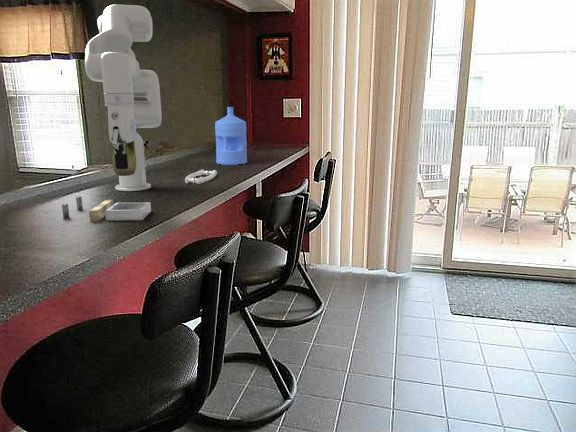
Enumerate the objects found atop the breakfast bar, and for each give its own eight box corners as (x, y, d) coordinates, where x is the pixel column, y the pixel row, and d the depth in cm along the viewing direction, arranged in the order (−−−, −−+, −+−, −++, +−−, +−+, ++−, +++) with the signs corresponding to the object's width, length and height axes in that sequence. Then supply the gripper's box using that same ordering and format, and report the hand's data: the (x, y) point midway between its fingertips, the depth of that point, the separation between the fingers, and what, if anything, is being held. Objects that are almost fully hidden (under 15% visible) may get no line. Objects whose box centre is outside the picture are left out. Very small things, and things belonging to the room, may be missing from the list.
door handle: (179, 185, 183) (199, 174, 207) (203, 185, 181) (221, 175, 205) (178, 178, 182) (199, 168, 206) (203, 179, 181) (221, 168, 205)
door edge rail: (106, 209, 142) (105, 199, 141) (113, 209, 142) (112, 199, 141) (90, 221, 128) (88, 211, 128) (97, 221, 128) (96, 211, 128)
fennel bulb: (138, 174, 134) (135, 132, 131) (132, 177, 129) (128, 133, 126) (119, 174, 134) (115, 132, 131) (111, 177, 129) (107, 133, 126)
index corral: (117, 211, 139) (116, 202, 138) (151, 211, 140) (150, 202, 139) (106, 220, 129) (105, 210, 129) (142, 220, 130) (141, 210, 129)
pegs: (78, 209, 142) (77, 196, 141) (83, 209, 142) (82, 196, 141) (62, 218, 131) (60, 205, 130) (68, 218, 131) (66, 205, 130)
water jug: (224, 160, 246) (222, 106, 239) (251, 162, 242) (250, 106, 235) (210, 164, 232) (208, 107, 225) (239, 166, 227) (238, 107, 220)
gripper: (124, 100, 118) (130, 171, 123) (141, 100, 135) (146, 163, 139) (94, 100, 118) (101, 172, 122) (115, 100, 134) (120, 163, 139)
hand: (125, 166), depth 131 cm, fingers closed on fennel bulb, 4 cm apart
